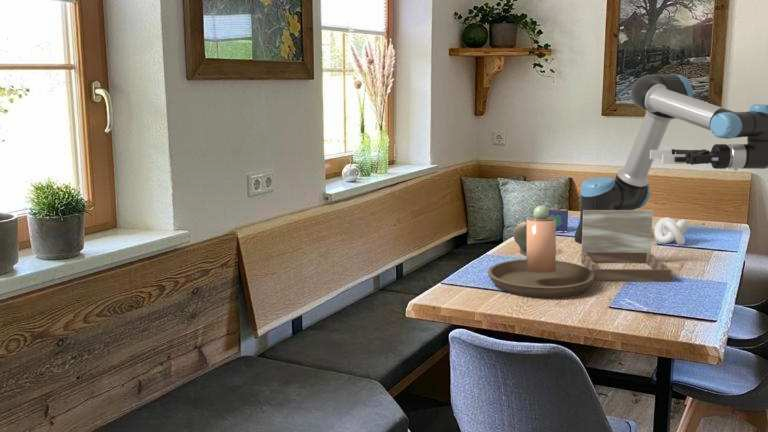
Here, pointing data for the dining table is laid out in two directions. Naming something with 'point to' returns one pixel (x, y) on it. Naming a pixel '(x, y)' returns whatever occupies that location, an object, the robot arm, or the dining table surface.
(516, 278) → the plant saucer
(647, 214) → the cold frame
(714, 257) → the dining table surface
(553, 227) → the pink canister
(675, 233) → the white knot sculpture
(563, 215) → the purple square panel
